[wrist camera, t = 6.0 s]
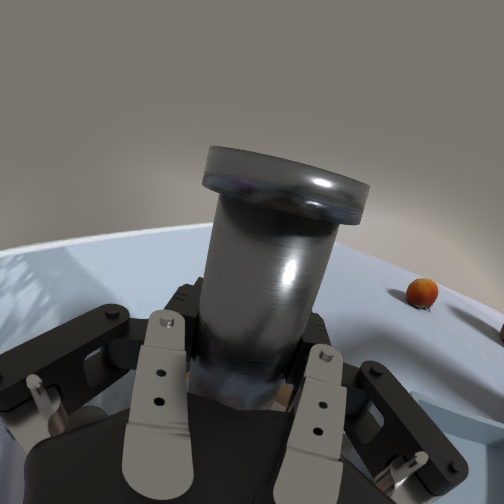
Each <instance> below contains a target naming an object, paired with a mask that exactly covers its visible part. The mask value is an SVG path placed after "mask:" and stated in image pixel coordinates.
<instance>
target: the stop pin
mask: <svg viewBox="0 0 504 504" xmlns="http://www.w3.org/2000/svg"><path fill="white" fill-rule="evenodd" d="M202 185H203V186H204V187H206V188H208V189H210V190H212V191H215V192H217V193H219V198H218V203H217V208H216V213H215V218H214V223H213V228H212V234H211V239H210V244H209V250H208V255H207V261H206V267H205V273H204V278H203V284H202V290H201V297H200V303H199V310H198V317H197V324H196V331H195V338H194V345H193V352H192V358H191V366H190V373H189V381H188V390H187V392H188V393H192V394H196V395H200V396H204V397H208V398H210V399H212V400H215V401H217V402H219V403H222V404H224V405H226V406H229V407H231V408H233V409H236V410H271V408H272V405H273V403H274V401H275V399H276V397H277V394H278V392H279V390H280V388H281V385H282V383H283V381H284V378H285V376H286V374H287V371H288V369H289V366H290V364H291V362H292V359H293V357H294V354H295V352H296V349H297V347H298V344H299V342H300V339H301V337H302V334H303V331H304V329H305V326H306V324H307V321H308V318H309V316H310V313H311V310H312V307H313V305H314V302H315V299H316V296H317V293H318V290H319V288H320V285H321V282H322V279H323V276H324V273H325V270H326V267H327V264H328V261H329V257H330V254H331V251H332V248H333V245H334V241H335V238H336V235H337V232H338V228H339V225H340V224H345V225H359V224H360V221H361V217H362V214H363V210H364V207H365V203H366V200H367V196H368V192H369V188H370V186H369V185H367V184H365V183H362V182H360V181H357V180H354V179H352V178H349V177H346V176H343V175H340V174H337V173H333V172H330V171H327V170H324V169H321V168H317V167H313V166H310V165H306V164H303V163H299V162H294V161H291V160H287V159H283V158H278V157H274V156H270V155H265V154H261V153H256V152H251V151H245V150H240V149H234V148H227V147H221V146H210V148H209V152H208V157H207V162H206V166H205V171H204V176H203V181H202Z"/></svg>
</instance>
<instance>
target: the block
mask: <svg viewBox="0 0 504 504" xmlns="http://www.w3.org/2000/svg"><path fill="white" fill-rule="evenodd" d="M500 333H501V336H502V339H503V340H504V324H503V326H502V329H501V332H500Z"/></svg>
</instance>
